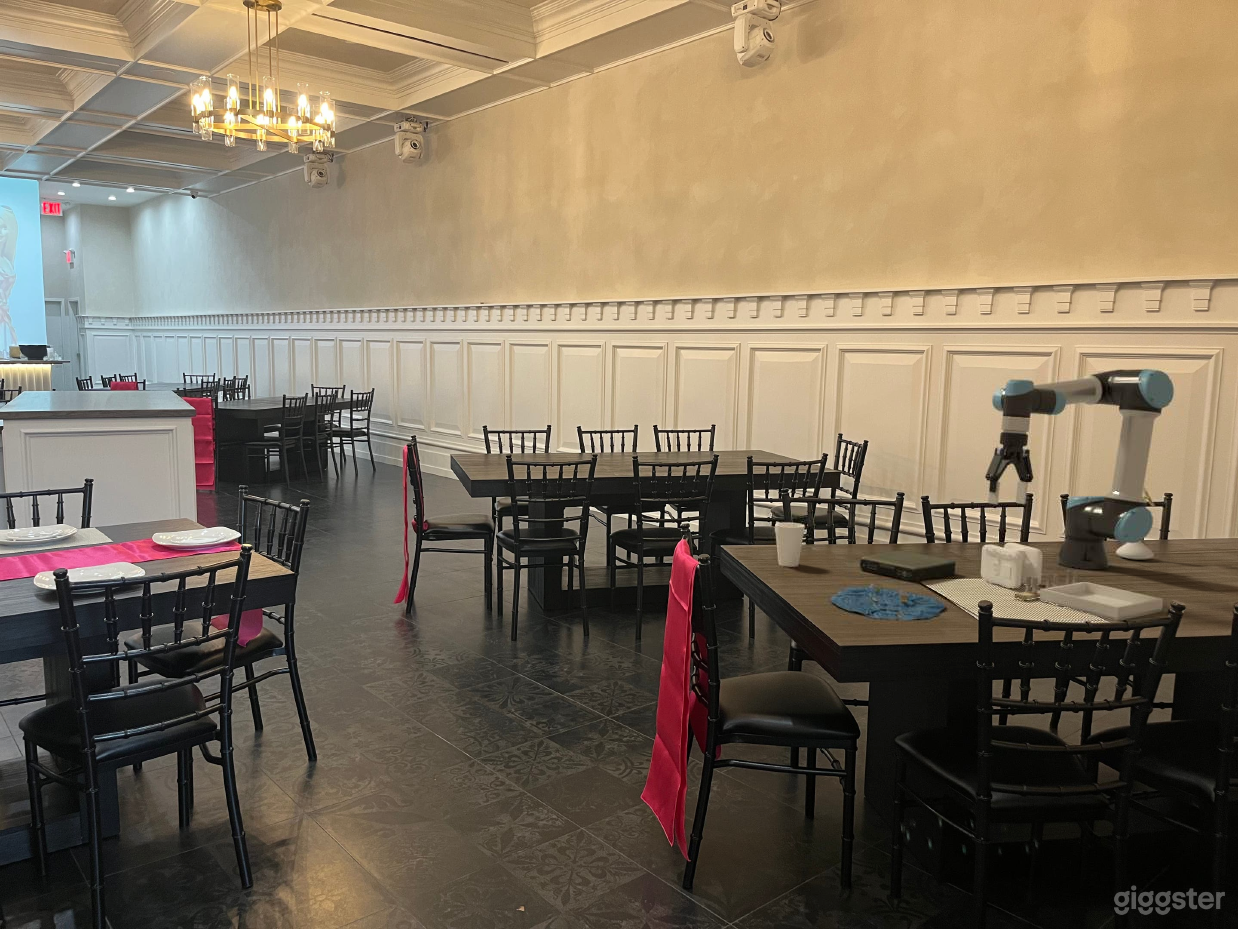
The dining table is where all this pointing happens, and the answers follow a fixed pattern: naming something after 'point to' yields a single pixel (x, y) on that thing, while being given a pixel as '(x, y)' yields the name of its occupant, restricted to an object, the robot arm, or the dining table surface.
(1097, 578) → the dining table surface
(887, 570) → the network switch
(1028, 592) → the cable clip rail
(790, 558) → the foam cup
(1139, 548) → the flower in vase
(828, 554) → the dining table surface
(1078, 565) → the robot arm
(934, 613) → the blue wave plaque
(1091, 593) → the holder tray
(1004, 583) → the cable organizer
